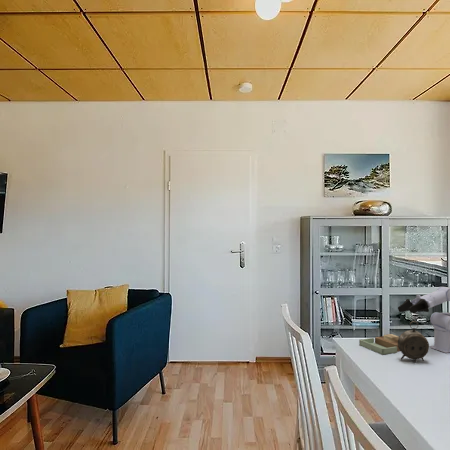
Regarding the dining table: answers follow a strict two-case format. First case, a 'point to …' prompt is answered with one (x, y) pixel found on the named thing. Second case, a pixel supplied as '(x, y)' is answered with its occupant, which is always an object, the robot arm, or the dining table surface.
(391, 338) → the maple tile
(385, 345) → the walnut board
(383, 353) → the sage tray
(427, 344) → the alarm clock
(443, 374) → the dining table surface
